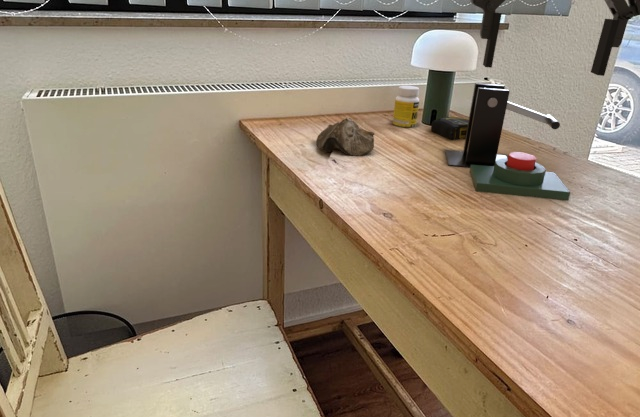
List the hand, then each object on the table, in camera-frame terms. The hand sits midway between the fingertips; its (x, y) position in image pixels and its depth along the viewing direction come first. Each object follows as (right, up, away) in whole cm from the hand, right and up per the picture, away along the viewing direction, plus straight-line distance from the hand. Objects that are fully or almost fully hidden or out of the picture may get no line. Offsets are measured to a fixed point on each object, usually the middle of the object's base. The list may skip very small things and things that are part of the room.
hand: (541, 70), depth 63 cm
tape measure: (-4, -5, +30) cm, 31 cm away
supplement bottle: (-12, -2, +36) cm, 38 cm away
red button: (-1, -12, +5) cm, 13 cm away
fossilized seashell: (-25, -9, +19) cm, 33 cm away
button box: (-1, -15, +7) cm, 17 cm away
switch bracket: (-3, -11, +16) cm, 20 cm away
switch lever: (+1, -4, +12) cm, 13 cm away
